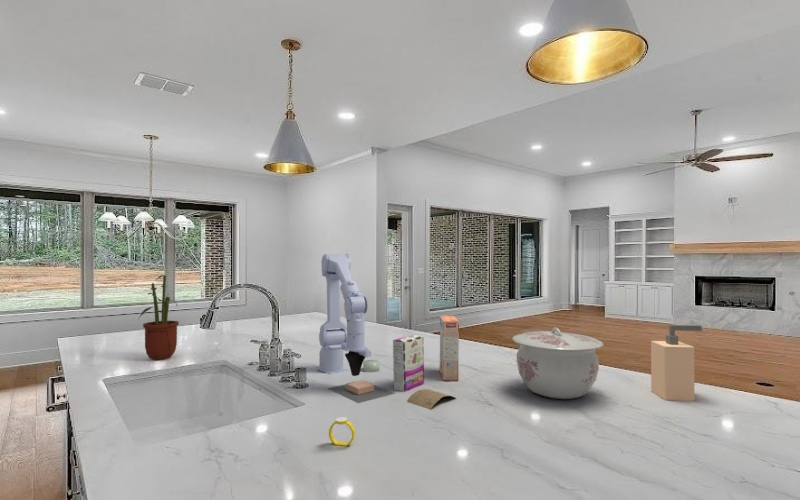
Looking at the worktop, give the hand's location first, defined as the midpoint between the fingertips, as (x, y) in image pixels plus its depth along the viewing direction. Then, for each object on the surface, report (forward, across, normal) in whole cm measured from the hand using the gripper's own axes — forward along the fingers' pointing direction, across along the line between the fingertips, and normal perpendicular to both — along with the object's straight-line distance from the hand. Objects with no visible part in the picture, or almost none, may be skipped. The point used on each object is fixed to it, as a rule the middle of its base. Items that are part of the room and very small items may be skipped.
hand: (355, 375), depth 142 cm
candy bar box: (+5, +9, +15) cm, 18 cm away
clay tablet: (+6, +23, +12) cm, 27 cm away
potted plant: (+5, -88, -42) cm, 98 cm away
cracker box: (+5, +8, +35) cm, 36 cm away
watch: (+5, +32, -25) cm, 41 cm away
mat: (+5, +3, 0) cm, 5 cm away
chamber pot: (+5, +43, +48) cm, 65 cm away
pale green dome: (+5, -15, +17) cm, 23 cm away
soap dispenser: (+5, +69, +74) cm, 101 cm away
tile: (+3, -1, 0) cm, 3 cm away
